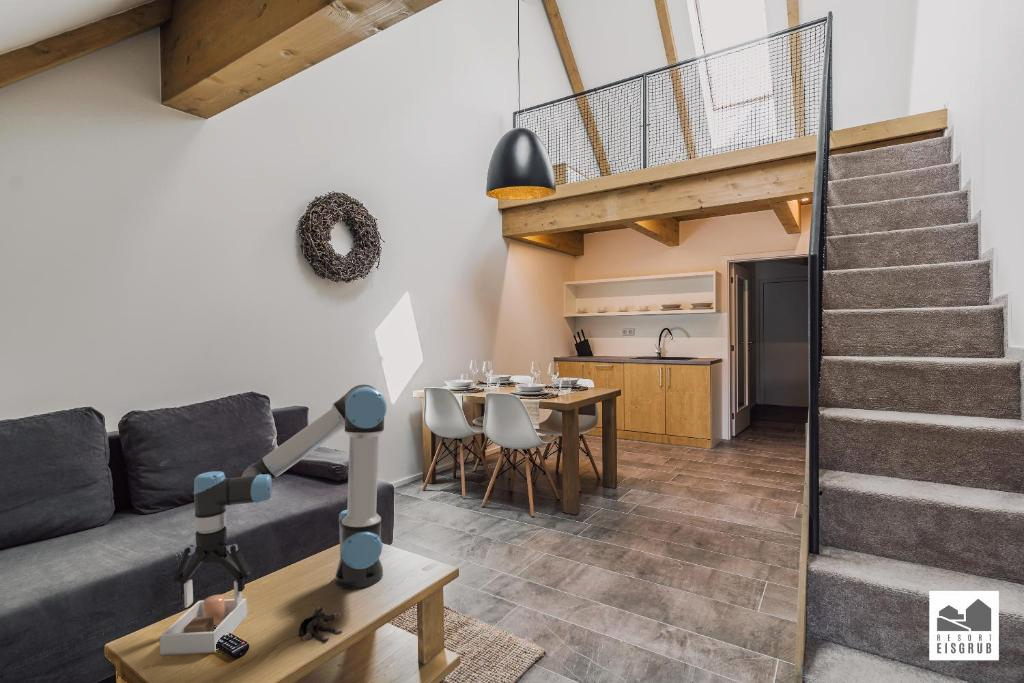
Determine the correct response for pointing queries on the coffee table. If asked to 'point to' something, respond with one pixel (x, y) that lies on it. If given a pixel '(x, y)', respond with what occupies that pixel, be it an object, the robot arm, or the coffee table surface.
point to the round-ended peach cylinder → (215, 608)
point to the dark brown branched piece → (317, 625)
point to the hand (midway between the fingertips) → (213, 603)
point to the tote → (201, 642)
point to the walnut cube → (200, 625)
